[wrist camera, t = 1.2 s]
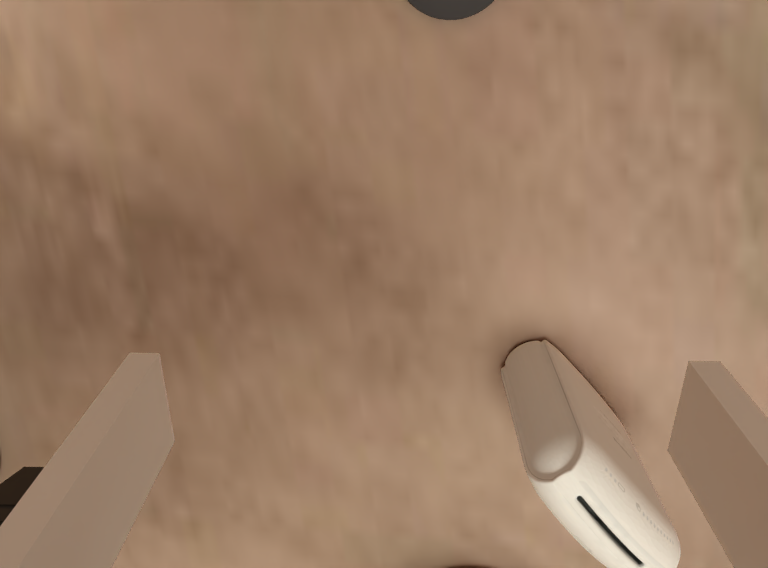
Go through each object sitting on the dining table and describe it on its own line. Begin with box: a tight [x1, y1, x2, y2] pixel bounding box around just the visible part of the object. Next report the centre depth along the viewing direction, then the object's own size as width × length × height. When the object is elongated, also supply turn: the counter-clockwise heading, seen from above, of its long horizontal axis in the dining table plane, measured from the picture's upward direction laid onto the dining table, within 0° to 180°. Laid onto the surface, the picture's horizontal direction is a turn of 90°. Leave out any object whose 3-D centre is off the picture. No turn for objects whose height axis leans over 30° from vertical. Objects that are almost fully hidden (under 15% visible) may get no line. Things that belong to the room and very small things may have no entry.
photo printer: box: [501, 340, 681, 568], centre depth 37 cm, size 10×4×12 cm, turn 41°
